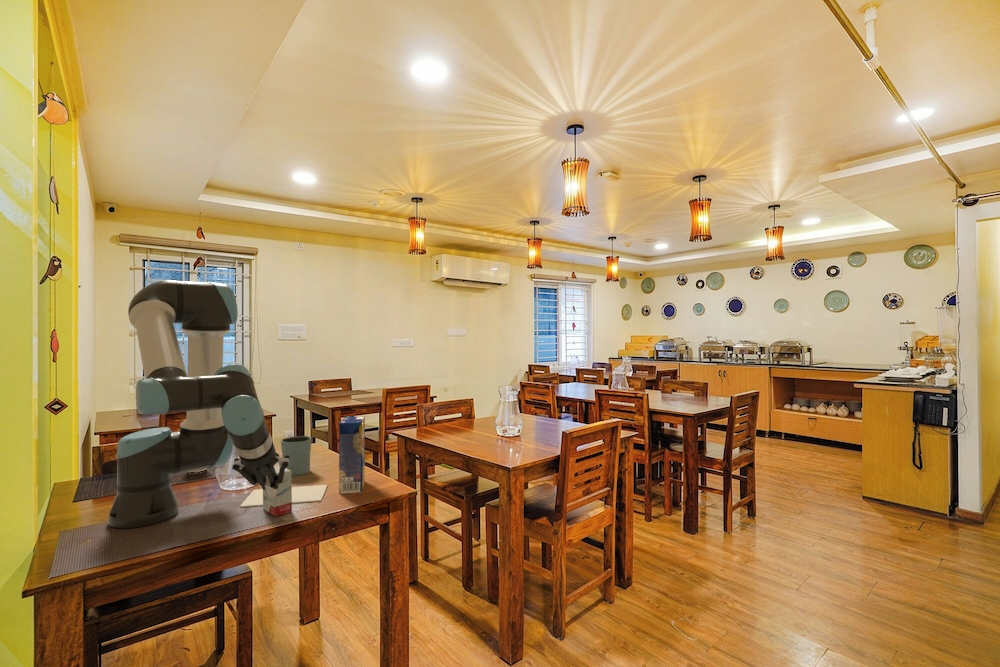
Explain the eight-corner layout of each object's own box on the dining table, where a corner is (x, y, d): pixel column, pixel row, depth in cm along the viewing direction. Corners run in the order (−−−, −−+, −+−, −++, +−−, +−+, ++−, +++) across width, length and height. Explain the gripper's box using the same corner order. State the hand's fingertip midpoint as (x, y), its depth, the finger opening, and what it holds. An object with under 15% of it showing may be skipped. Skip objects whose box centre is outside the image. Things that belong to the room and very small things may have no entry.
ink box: (292, 512, 130) (292, 470, 130) (274, 517, 127) (274, 474, 127) (279, 504, 136) (279, 464, 136) (262, 509, 133) (262, 467, 132)
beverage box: (364, 481, 157) (364, 416, 157) (361, 492, 146) (362, 422, 146) (343, 482, 156) (343, 416, 156) (339, 493, 145) (339, 423, 145)
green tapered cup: (304, 476, 162) (304, 442, 162) (275, 476, 162) (275, 442, 162) (316, 468, 172) (316, 435, 172) (288, 467, 172) (288, 435, 172)
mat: (239, 507, 134) (239, 506, 134) (254, 490, 147) (254, 489, 147) (321, 501, 139) (321, 500, 139) (327, 485, 152) (327, 484, 152)
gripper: (220, 462, 105) (243, 508, 122) (282, 458, 108) (297, 504, 125) (228, 433, 111) (250, 481, 127) (287, 431, 113) (301, 478, 130)
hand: (273, 492), depth 126 cm, fingers closed
